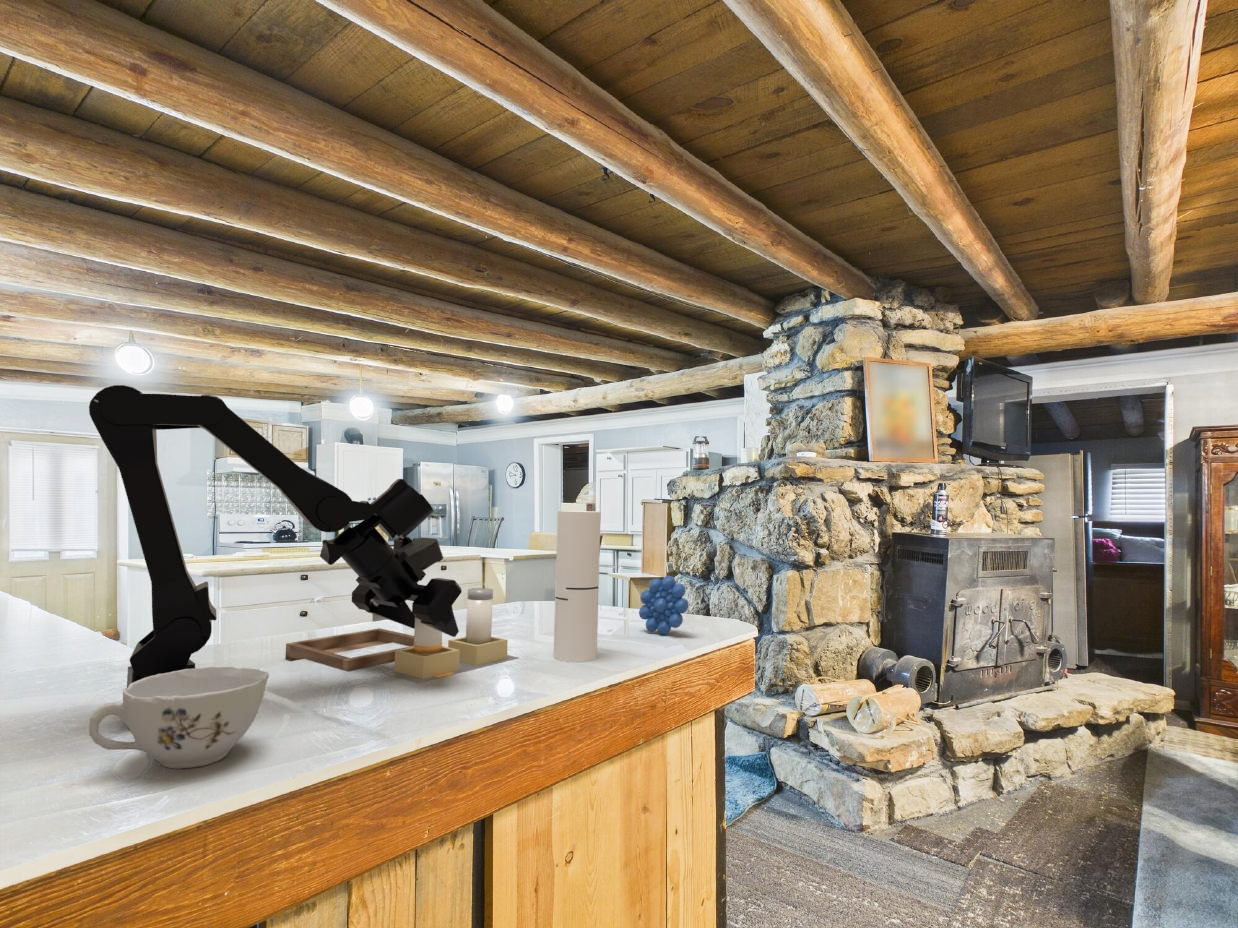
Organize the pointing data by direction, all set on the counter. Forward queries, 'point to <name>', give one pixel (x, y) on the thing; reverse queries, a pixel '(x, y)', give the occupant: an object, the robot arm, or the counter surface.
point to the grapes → (663, 605)
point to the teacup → (186, 714)
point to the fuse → (479, 616)
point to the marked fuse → (426, 639)
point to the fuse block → (448, 660)
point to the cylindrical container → (577, 586)
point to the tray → (348, 648)
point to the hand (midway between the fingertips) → (435, 630)
